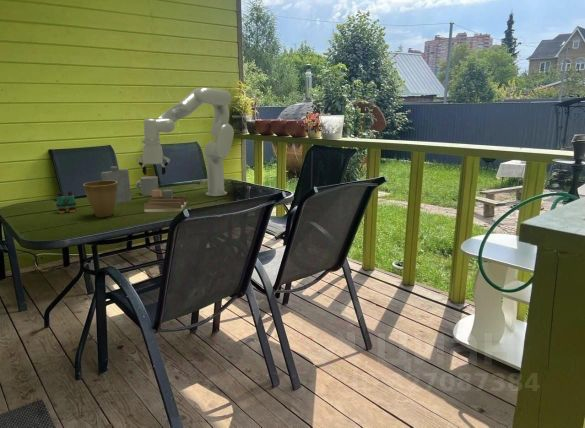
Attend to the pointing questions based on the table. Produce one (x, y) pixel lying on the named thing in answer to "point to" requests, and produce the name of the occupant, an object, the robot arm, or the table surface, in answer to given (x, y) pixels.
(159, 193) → the terracotta plug block
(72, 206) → the binoculars
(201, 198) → the table surface
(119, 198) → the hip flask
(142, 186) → the coffee mug
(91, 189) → the plant pot
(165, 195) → the grey plug block
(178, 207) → the cream shelf rack
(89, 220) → the table surface
